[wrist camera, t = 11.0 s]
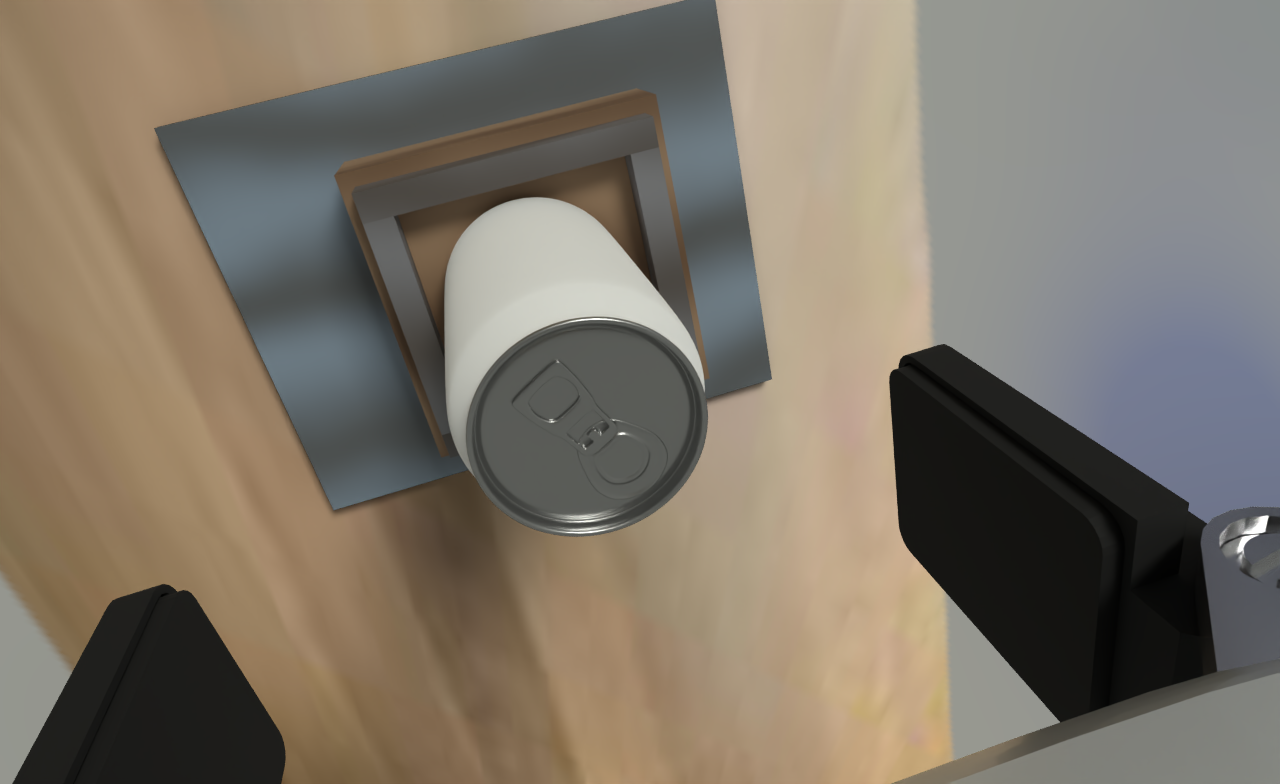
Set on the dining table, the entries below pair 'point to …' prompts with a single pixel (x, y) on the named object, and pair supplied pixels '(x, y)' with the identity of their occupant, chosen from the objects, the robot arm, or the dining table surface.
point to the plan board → (327, 262)
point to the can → (566, 372)
